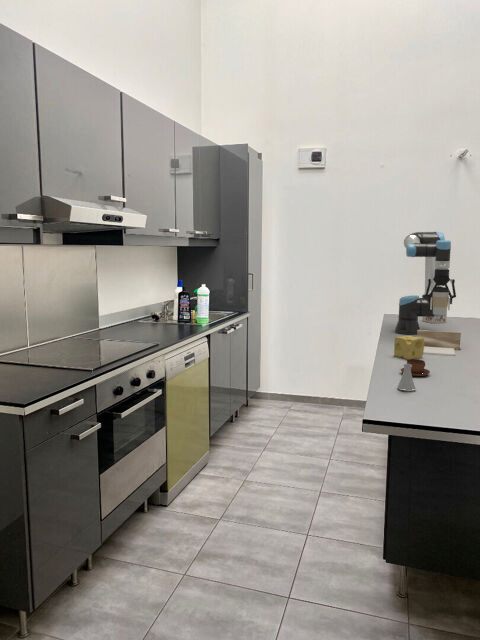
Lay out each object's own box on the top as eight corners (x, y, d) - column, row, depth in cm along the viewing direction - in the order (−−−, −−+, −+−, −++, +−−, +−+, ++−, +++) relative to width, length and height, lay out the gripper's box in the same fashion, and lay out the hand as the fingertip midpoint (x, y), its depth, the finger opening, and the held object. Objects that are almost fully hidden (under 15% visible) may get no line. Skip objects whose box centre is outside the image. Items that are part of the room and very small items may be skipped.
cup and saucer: (407, 370, 238) (407, 356, 237) (433, 374, 230) (434, 360, 229) (396, 375, 228) (396, 361, 227) (423, 379, 221) (424, 365, 220)
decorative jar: (421, 321, 378) (423, 296, 375) (434, 320, 382) (435, 295, 380) (434, 324, 367) (435, 298, 364) (446, 322, 372) (448, 297, 369)
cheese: (408, 360, 257) (409, 339, 255) (392, 355, 266) (393, 336, 265) (423, 357, 262) (424, 338, 260) (407, 353, 271) (408, 334, 270)
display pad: (422, 347, 286) (422, 346, 286) (453, 349, 280) (454, 348, 280) (421, 353, 271) (421, 352, 271) (455, 355, 265) (455, 354, 265)
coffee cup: (449, 315, 287) (451, 288, 284) (432, 314, 288) (433, 287, 286) (446, 312, 295) (448, 286, 293) (429, 312, 297) (431, 286, 295)
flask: (394, 387, 209) (395, 362, 208) (411, 386, 210) (412, 362, 208) (401, 392, 202) (402, 367, 201) (419, 392, 203) (420, 366, 201)
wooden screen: (416, 345, 292) (417, 329, 291) (459, 348, 285) (460, 331, 283) (416, 347, 287) (417, 331, 285) (460, 350, 279) (461, 333, 278)
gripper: (421, 268, 288) (419, 309, 292) (463, 269, 281) (460, 311, 284) (421, 267, 295) (419, 307, 299) (462, 268, 288) (460, 309, 291)
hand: (439, 309), depth 292 cm, fingers closed on coffee cup, 8 cm apart
